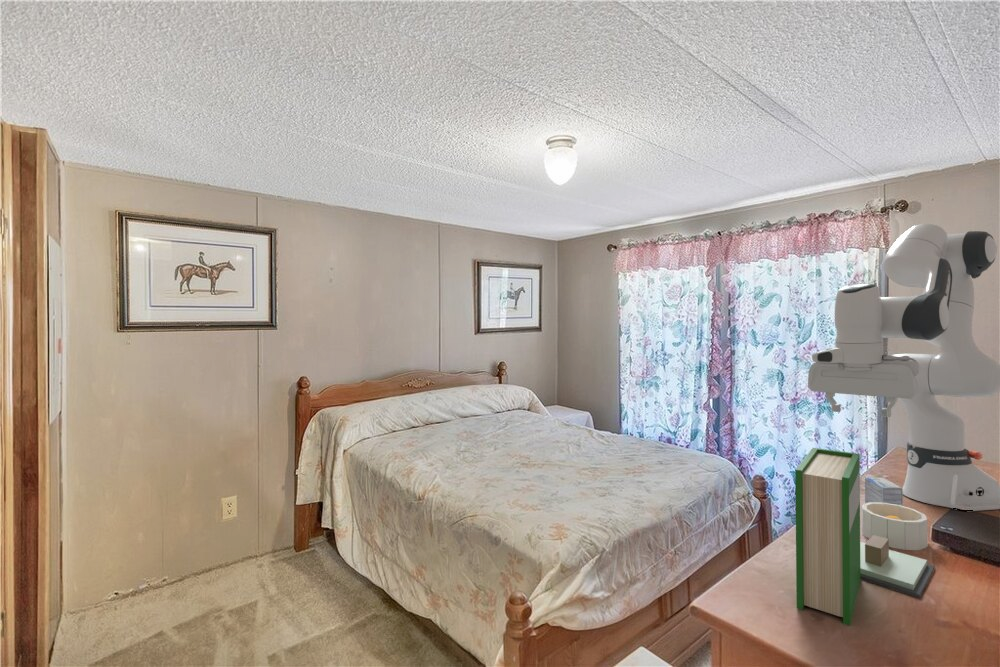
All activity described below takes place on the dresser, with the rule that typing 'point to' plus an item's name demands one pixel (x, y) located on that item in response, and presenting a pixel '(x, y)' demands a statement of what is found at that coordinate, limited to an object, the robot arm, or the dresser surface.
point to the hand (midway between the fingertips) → (860, 413)
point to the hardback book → (828, 531)
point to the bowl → (895, 525)
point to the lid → (890, 563)
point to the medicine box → (882, 491)
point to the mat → (916, 592)
